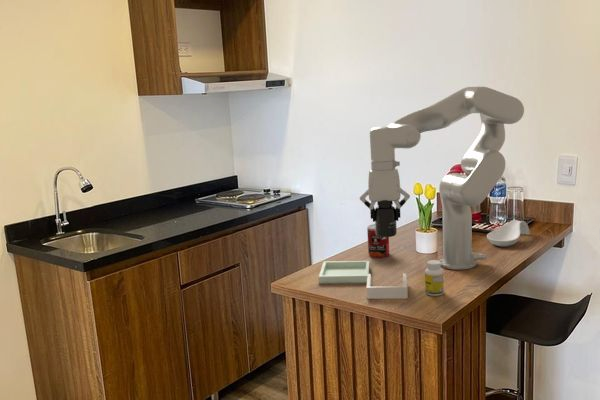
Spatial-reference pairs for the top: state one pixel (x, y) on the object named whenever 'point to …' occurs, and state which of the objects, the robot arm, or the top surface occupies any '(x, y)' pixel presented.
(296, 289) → the top surface
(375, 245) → the canned food
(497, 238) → the spoon rest
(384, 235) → the supplement bottle
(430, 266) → the supplement bottle
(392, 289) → the bay
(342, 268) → the tray
